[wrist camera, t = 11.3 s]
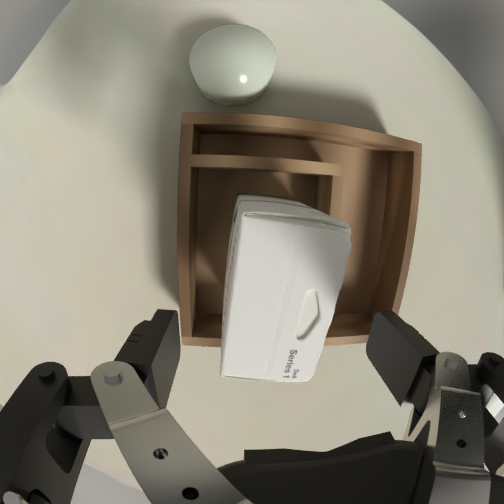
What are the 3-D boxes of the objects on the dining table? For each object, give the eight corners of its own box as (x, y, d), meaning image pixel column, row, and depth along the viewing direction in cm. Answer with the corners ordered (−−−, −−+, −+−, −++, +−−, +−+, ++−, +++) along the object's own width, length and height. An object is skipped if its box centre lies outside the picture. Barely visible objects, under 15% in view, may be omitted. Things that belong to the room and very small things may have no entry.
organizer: (393, 147, 22) (421, 143, 18) (370, 317, 26) (390, 339, 22) (192, 125, 21) (182, 112, 16) (189, 318, 25) (182, 344, 20)
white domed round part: (271, 45, 19) (277, 26, 16) (269, 107, 21) (275, 96, 17) (198, 42, 19) (193, 24, 15) (192, 105, 20) (184, 93, 17)
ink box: (235, 190, 22) (237, 202, 10) (296, 199, 22) (357, 221, 11) (222, 291, 24) (215, 382, 12) (279, 297, 24) (312, 387, 13)
